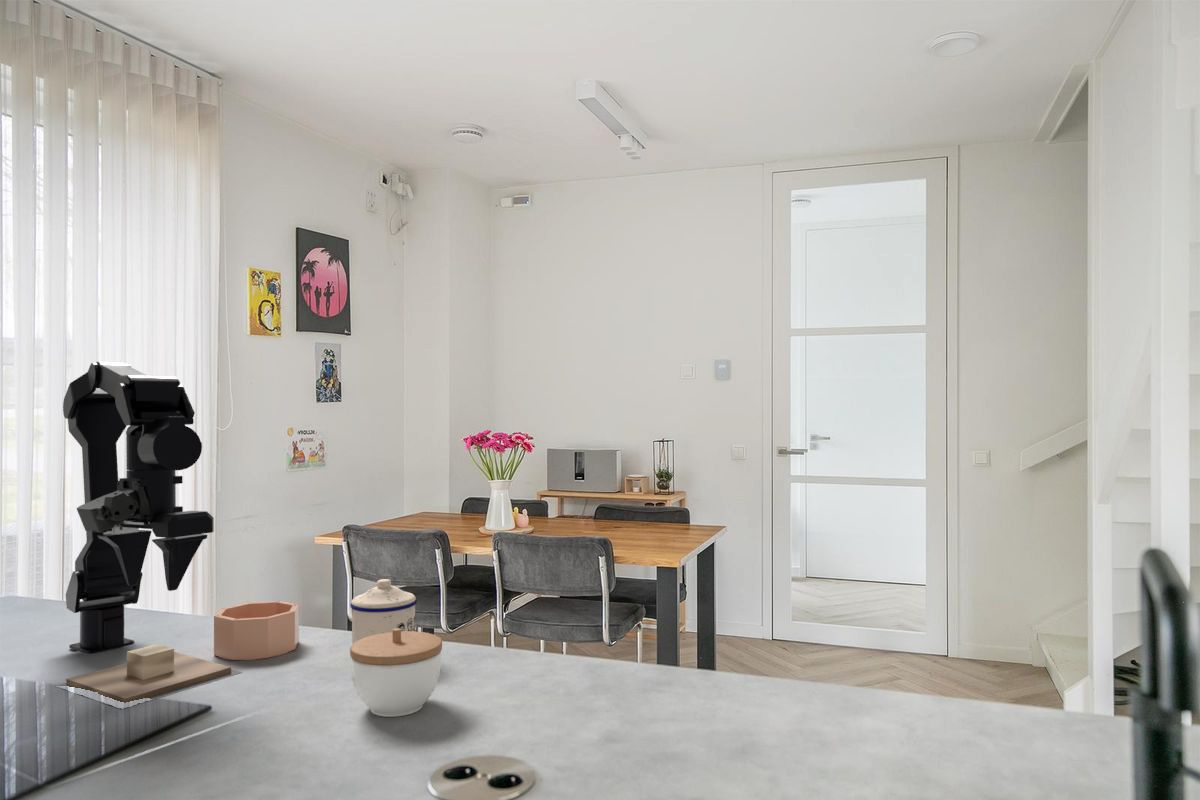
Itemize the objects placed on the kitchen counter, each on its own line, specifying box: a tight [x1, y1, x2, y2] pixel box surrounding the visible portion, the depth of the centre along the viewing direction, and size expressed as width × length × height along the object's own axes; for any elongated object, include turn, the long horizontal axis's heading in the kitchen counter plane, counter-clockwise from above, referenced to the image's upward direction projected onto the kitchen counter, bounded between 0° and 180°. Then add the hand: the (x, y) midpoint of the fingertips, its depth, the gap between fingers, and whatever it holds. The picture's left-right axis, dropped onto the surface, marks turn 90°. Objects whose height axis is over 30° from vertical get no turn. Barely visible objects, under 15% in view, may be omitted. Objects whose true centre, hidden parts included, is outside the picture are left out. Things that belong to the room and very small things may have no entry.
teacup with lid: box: [350, 578, 418, 645], centre depth 116 cm, size 12×9×12 cm
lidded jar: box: [349, 628, 443, 718], centre depth 97 cm, size 11×11×9 cm
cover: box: [65, 643, 232, 703], centre depth 107 cm, size 14×14×4 cm
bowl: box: [213, 600, 300, 661], centre depth 121 cm, size 11×11×6 cm
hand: (152, 587), depth 107 cm, fingers open, 9 cm apart
